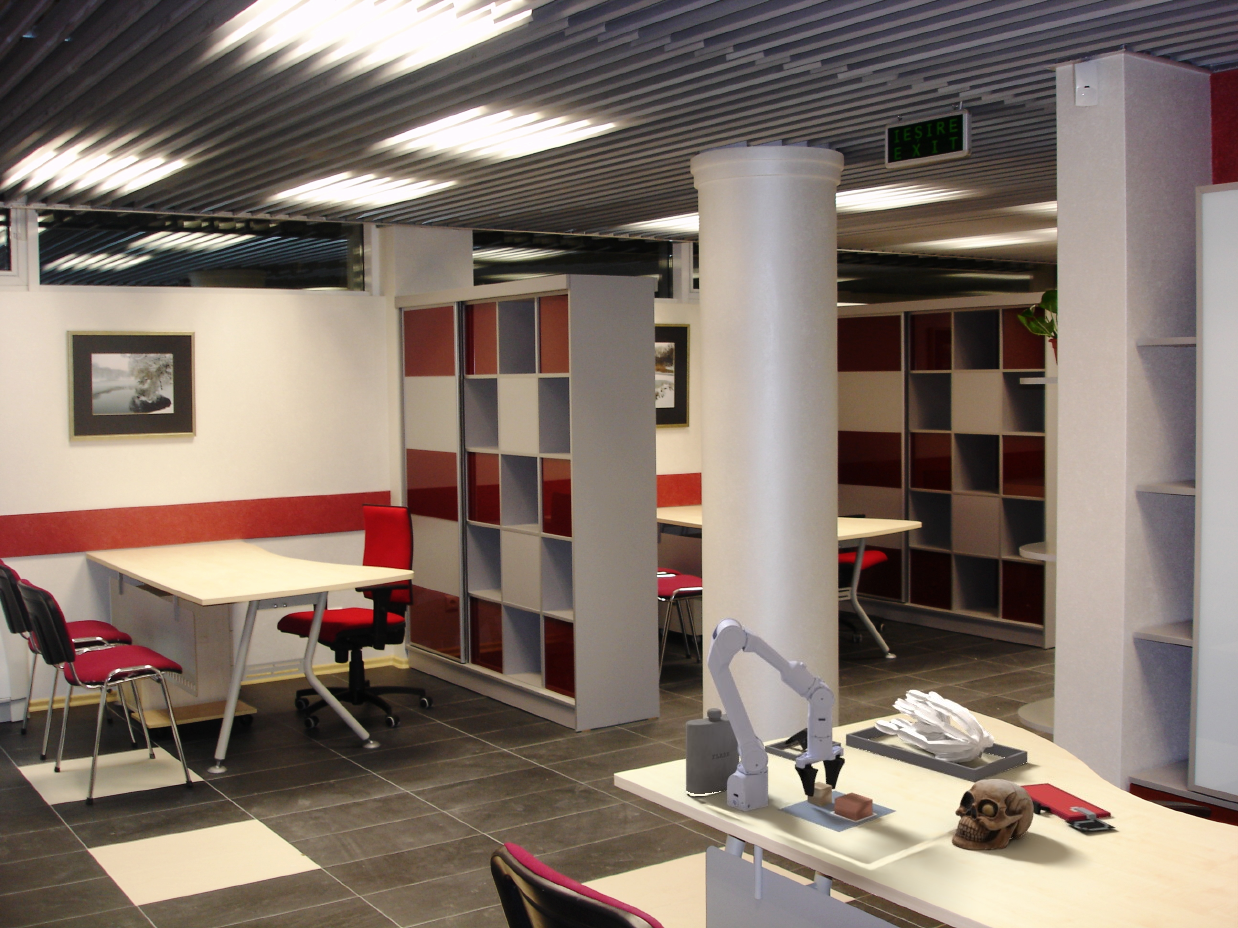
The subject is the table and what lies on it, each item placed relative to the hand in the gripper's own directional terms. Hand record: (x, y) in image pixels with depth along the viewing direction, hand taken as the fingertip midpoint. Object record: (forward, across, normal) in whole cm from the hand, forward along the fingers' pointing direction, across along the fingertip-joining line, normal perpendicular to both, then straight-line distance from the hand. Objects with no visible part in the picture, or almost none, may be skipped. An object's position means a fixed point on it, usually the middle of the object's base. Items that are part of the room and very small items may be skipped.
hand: (820, 791), depth 272 cm
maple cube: (+2, 0, 0) cm, 3 cm away
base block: (+2, 0, -10) cm, 10 cm away
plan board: (+3, -1, -6) cm, 7 cm away
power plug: (+4, +30, +33) cm, 45 cm away
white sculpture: (+4, +54, +7) cm, 55 cm away
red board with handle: (+5, +41, -37) cm, 55 cm away
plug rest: (+3, +30, +32) cm, 44 cm away
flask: (+4, -11, +24) cm, 27 cm away
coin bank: (+4, +13, -37) cm, 39 cm away
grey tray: (+4, +54, +7) cm, 54 cm away
